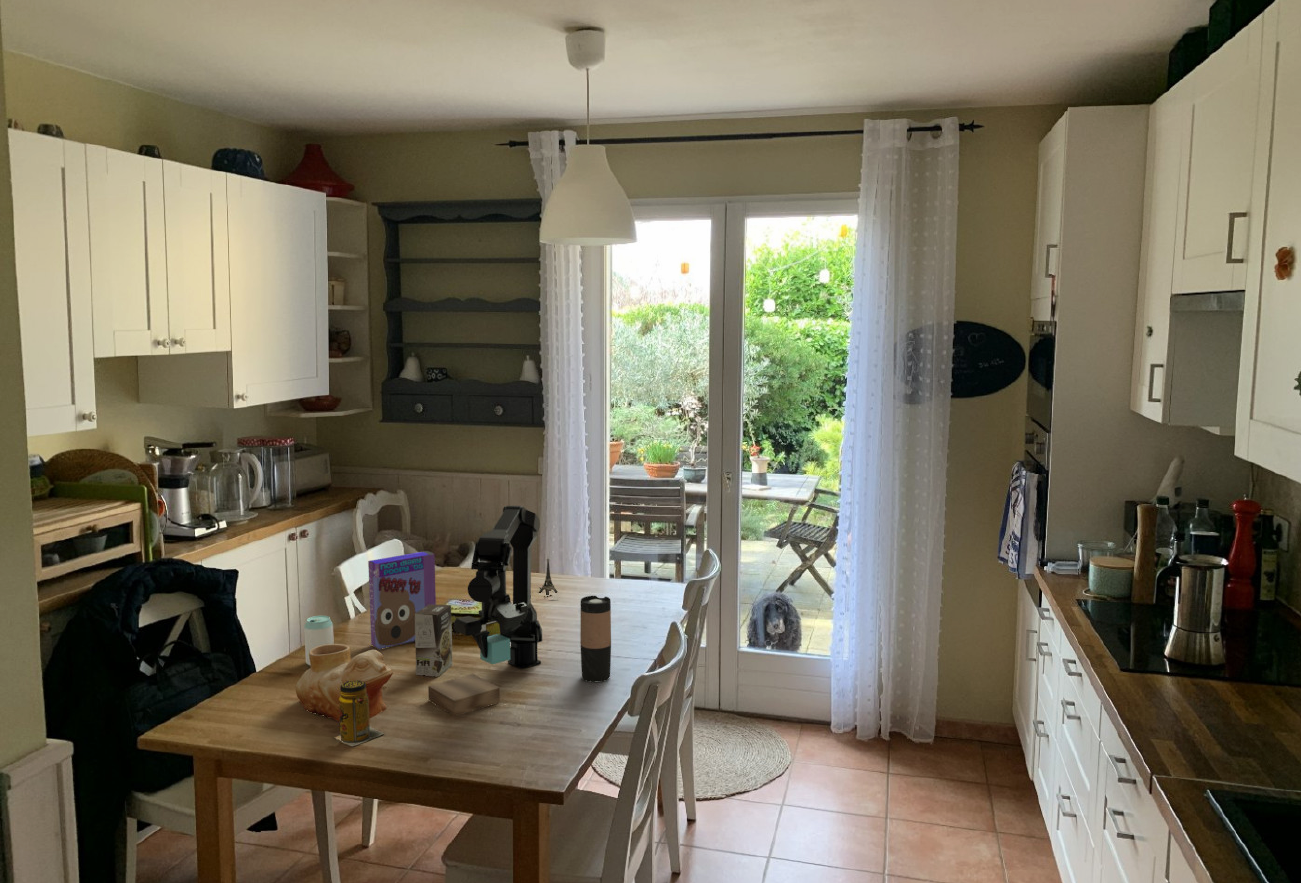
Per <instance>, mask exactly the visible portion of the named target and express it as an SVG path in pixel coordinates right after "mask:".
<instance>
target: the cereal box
mask: <svg viewBox="0 0 1301 883" xmlns="http://www.w3.org/2000/svg"><path fill="white" fill-rule="evenodd" d="M367 564H368V587H369V588H368V590H369V618H370V621H369V622H370V644H371V645H373V646H374V647H373V646H372V647H373V648H375V647H376V648H375V649H377V648H378V649H381V650H383V649H382V648H385V649H387V648H386V647H389V648H392V647H391V646H394V647H396V646H395V645H398V646H400V644H402V645H406V644H409V643H415V613H417V612H418V611H420V610H421V609H423V608H424V607H426V606H427V605H429V604H432V605H437V599H436V597H437V596H436V595H437V594H436V562H435V553H433V552H432V551H428V550H423V551H418V552H411V553H407V554H401V555H395V556H390V557H383V558H377V559H372V560H368V562H367ZM378 649H377V650H378Z"/></svg>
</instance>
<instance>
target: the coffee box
mask: <svg viewBox="0 0 1301 883" xmlns="http://www.w3.org/2000/svg"><path fill="white" fill-rule="evenodd" d="M452 632H453V631H452V605H451V604H436V605H432V604H429V605H427V606H426V607H424V608H423V609H421V610H420V611H418V612H417V613H415V642H414V643H415V645H414V647H415V675H416V676H423V675H425V676H426V677H434V676H435V677H436V678H438V677H439V676H441V675H442V674H443V673H444V672H446V671H447V670H448V669H449V668H451V667H452V666H453V636H452V635H453V634H452Z"/></svg>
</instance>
